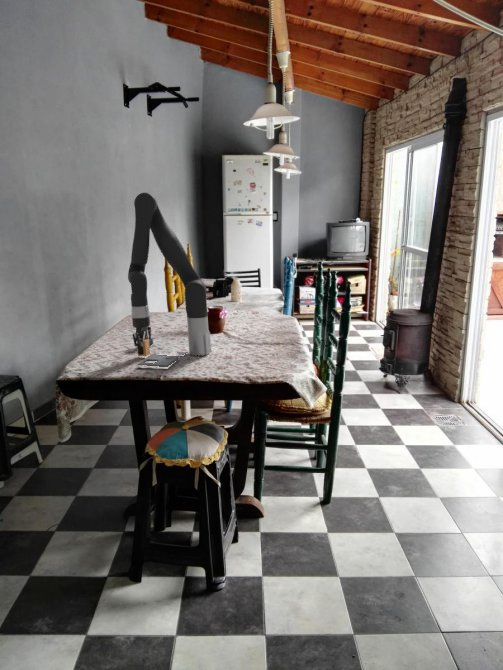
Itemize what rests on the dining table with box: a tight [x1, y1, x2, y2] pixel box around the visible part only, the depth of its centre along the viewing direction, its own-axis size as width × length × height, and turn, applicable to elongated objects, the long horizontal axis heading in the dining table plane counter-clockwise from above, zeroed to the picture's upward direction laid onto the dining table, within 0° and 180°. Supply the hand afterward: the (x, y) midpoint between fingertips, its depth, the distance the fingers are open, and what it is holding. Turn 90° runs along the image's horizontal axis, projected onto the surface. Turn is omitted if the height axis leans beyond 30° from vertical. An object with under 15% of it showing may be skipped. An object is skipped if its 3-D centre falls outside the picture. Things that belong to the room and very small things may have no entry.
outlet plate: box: [137, 354, 180, 367], centre depth 220 cm, size 13×13×2 cm
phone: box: [176, 351, 189, 355], centre depth 234 cm, size 6×13×1 cm, turn 76°
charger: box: [136, 339, 151, 357], centre depth 230 cm, size 4×4×8 cm
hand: (143, 352), depth 230 cm, fingers open, 5 cm apart
